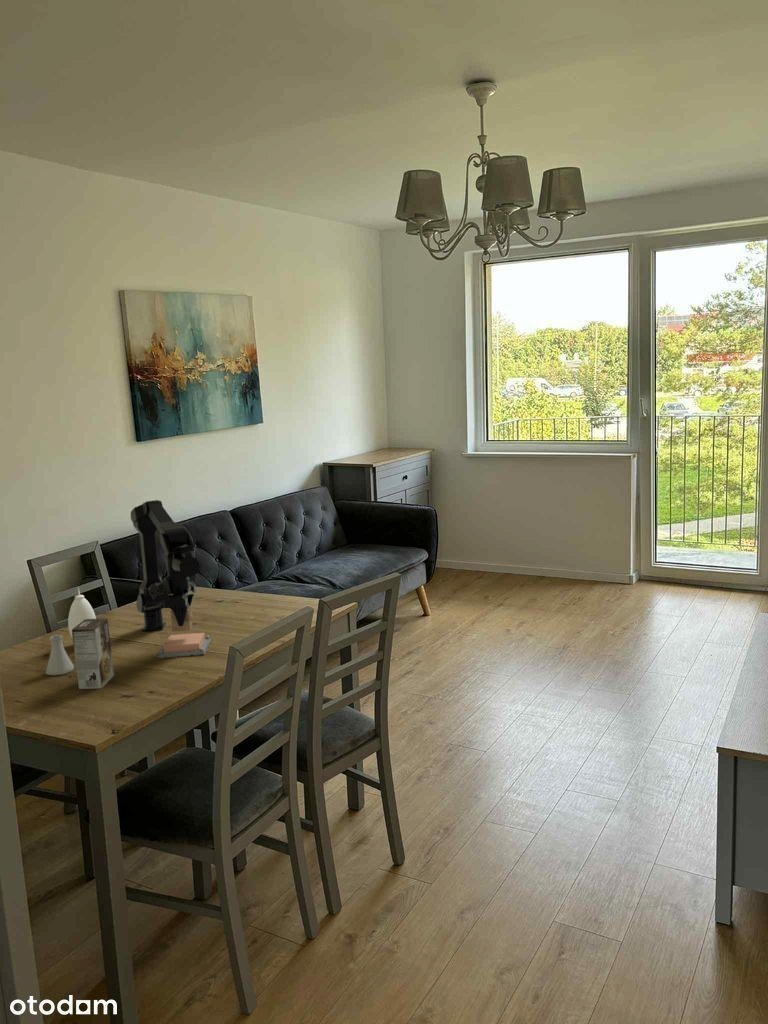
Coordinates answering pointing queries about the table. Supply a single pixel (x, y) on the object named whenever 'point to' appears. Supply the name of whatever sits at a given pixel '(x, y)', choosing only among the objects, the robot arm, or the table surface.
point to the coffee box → (93, 653)
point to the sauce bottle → (79, 612)
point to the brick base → (175, 654)
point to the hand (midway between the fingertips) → (182, 623)
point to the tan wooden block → (187, 622)
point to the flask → (58, 658)
